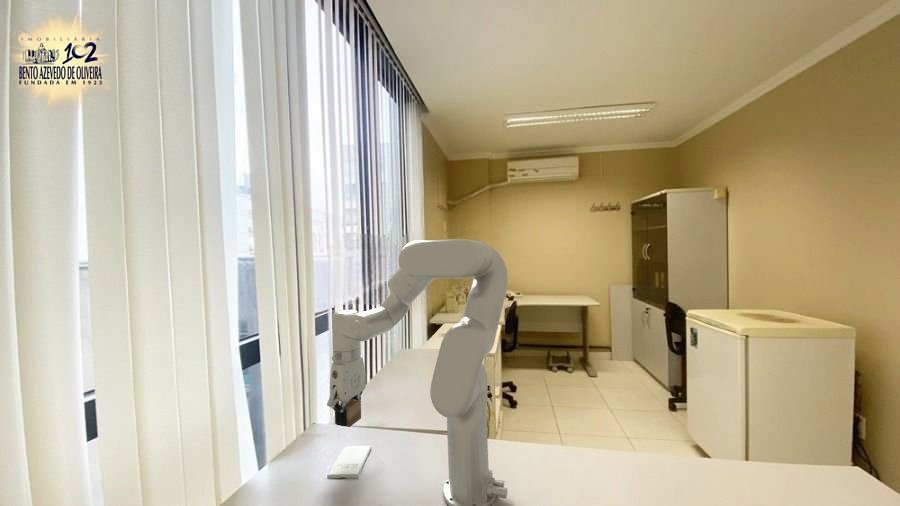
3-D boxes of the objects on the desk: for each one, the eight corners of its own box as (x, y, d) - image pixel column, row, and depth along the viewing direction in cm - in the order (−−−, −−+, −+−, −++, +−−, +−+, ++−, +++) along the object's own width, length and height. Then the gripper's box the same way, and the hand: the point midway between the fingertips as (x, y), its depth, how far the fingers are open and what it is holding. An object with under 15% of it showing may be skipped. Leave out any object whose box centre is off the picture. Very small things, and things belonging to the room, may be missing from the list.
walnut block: (361, 418, 90) (360, 400, 90) (349, 427, 85) (349, 408, 85) (347, 415, 92) (346, 398, 92) (334, 424, 87) (334, 405, 87)
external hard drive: (371, 451, 94) (358, 479, 82) (344, 451, 95) (327, 480, 82) (371, 445, 94) (358, 473, 82) (344, 446, 95) (326, 474, 82)
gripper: (336, 365, 79) (337, 438, 79) (375, 347, 95) (377, 408, 95) (313, 362, 82) (314, 433, 82) (355, 345, 98) (357, 404, 98)
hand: (348, 419), depth 88 cm, fingers closed on walnut block, 5 cm apart
